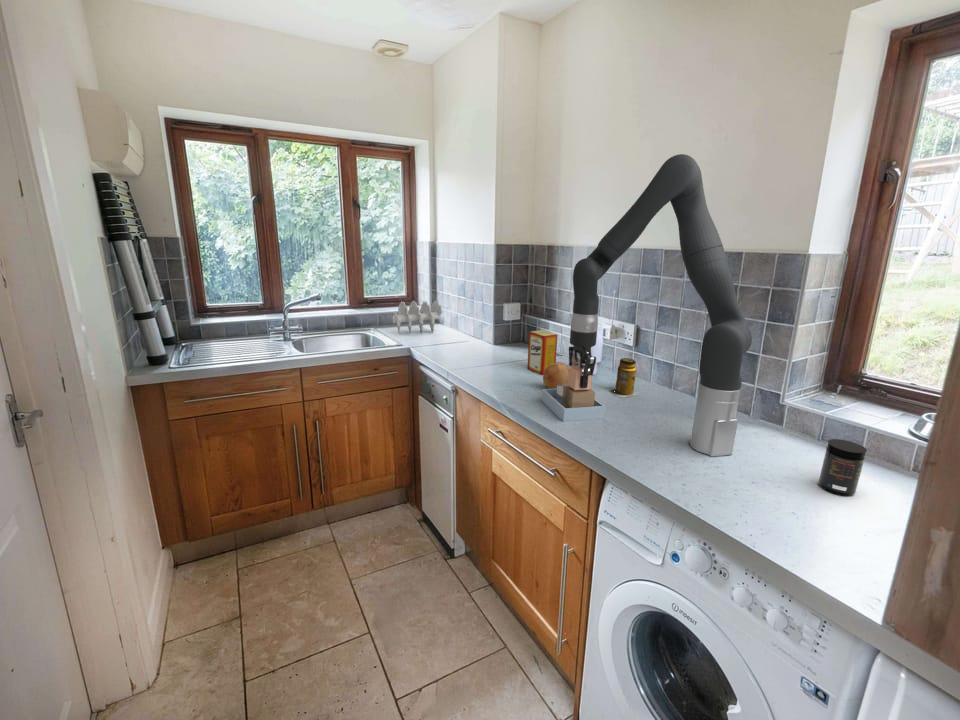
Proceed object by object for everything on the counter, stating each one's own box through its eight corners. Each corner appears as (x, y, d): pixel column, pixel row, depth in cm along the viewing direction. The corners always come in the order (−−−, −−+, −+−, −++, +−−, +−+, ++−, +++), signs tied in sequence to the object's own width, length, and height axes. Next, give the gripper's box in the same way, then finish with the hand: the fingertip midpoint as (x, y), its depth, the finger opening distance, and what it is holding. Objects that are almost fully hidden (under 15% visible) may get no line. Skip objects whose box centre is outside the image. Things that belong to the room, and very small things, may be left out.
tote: (604, 420, 137) (605, 406, 136) (563, 423, 134) (564, 409, 133) (578, 399, 154) (579, 387, 153) (541, 402, 151) (542, 389, 150)
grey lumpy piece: (393, 339, 252) (437, 334, 260) (398, 331, 236) (445, 327, 244) (388, 307, 255) (432, 303, 263) (392, 297, 238) (439, 294, 246)
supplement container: (850, 485, 104) (861, 442, 101) (859, 500, 98) (871, 455, 95) (814, 478, 106) (824, 436, 104) (820, 492, 100) (831, 448, 98)
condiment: (638, 394, 161) (642, 360, 158) (622, 398, 157) (626, 364, 153) (622, 388, 167) (625, 356, 164) (605, 392, 162) (609, 359, 159)
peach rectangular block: (590, 389, 136) (592, 369, 134) (574, 390, 135) (576, 370, 133) (583, 384, 141) (584, 365, 139) (567, 384, 140) (569, 365, 138)
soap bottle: (572, 375, 180) (577, 314, 174) (574, 368, 190) (578, 310, 183) (600, 378, 178) (605, 316, 171) (599, 370, 187) (605, 311, 181)
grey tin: (579, 407, 145) (580, 389, 144) (560, 408, 144) (561, 390, 142) (571, 400, 151) (572, 382, 150) (552, 401, 150) (553, 383, 148)
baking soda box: (554, 373, 183) (557, 333, 179) (542, 375, 180) (544, 335, 176) (540, 367, 191) (542, 329, 187) (527, 369, 188) (529, 330, 184)
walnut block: (592, 417, 137) (595, 392, 135) (570, 419, 136) (572, 393, 134) (582, 409, 144) (584, 384, 142) (561, 410, 142) (563, 385, 140)
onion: (548, 383, 170) (549, 357, 167) (574, 388, 165) (576, 361, 162) (537, 391, 162) (538, 363, 159) (564, 396, 157) (566, 368, 154)
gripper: (607, 333, 127) (602, 392, 132) (585, 323, 141) (580, 377, 145) (582, 334, 125) (577, 393, 130) (562, 324, 139) (558, 378, 143)
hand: (579, 384), depth 138 cm, fingers closed on peach rectangular block, 5 cm apart
